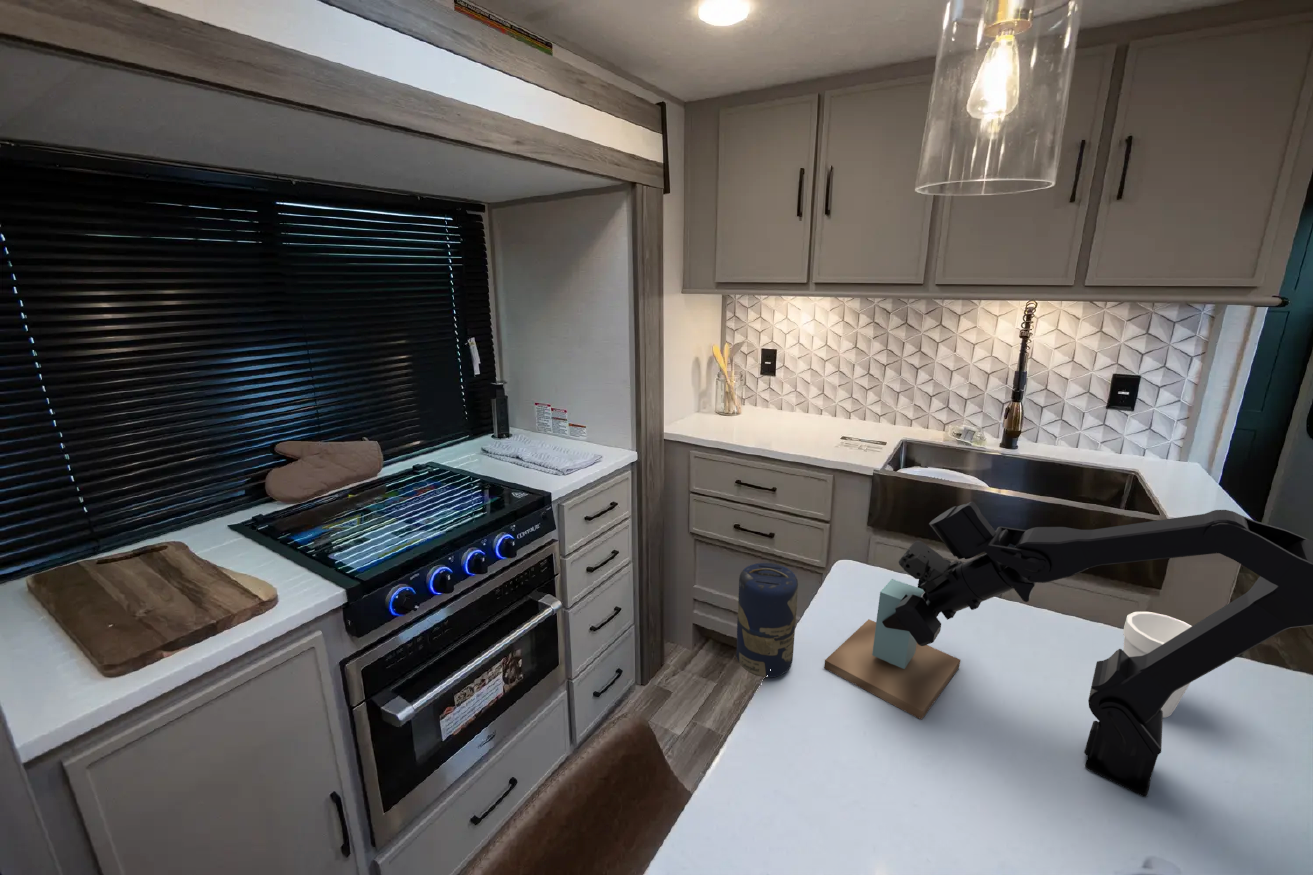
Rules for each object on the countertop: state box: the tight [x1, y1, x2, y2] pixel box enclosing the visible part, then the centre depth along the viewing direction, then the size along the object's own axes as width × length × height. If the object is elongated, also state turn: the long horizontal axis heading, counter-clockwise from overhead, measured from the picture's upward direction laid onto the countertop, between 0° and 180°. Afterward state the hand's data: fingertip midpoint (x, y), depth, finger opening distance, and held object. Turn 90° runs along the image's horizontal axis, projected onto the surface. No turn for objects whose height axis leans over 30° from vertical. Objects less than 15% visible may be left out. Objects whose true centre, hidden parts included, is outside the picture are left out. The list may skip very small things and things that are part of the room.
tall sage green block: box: [872, 578, 924, 669], centre depth 93 cm, size 5×5×12 cm
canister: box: [735, 562, 799, 678], centre depth 94 cm, size 10×10×18 cm
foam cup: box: [1122, 611, 1193, 718], centre depth 86 cm, size 10×9×13 cm
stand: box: [823, 618, 961, 721], centre depth 95 cm, size 16×16×5 cm
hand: (890, 616), depth 93 cm, fingers closed on tall sage green block, 5 cm apart
